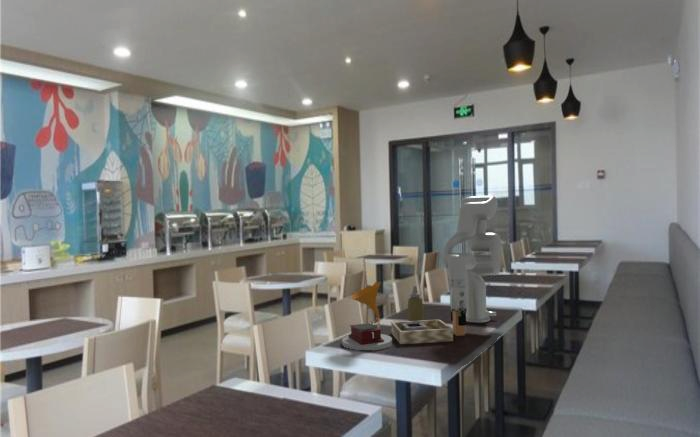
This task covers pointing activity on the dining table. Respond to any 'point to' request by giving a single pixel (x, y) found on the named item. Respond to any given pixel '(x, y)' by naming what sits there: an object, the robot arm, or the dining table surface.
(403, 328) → the socket
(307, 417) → the dining table surface
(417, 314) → the squeeze bottle
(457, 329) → the orange canister
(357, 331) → the gramophone
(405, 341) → the box
